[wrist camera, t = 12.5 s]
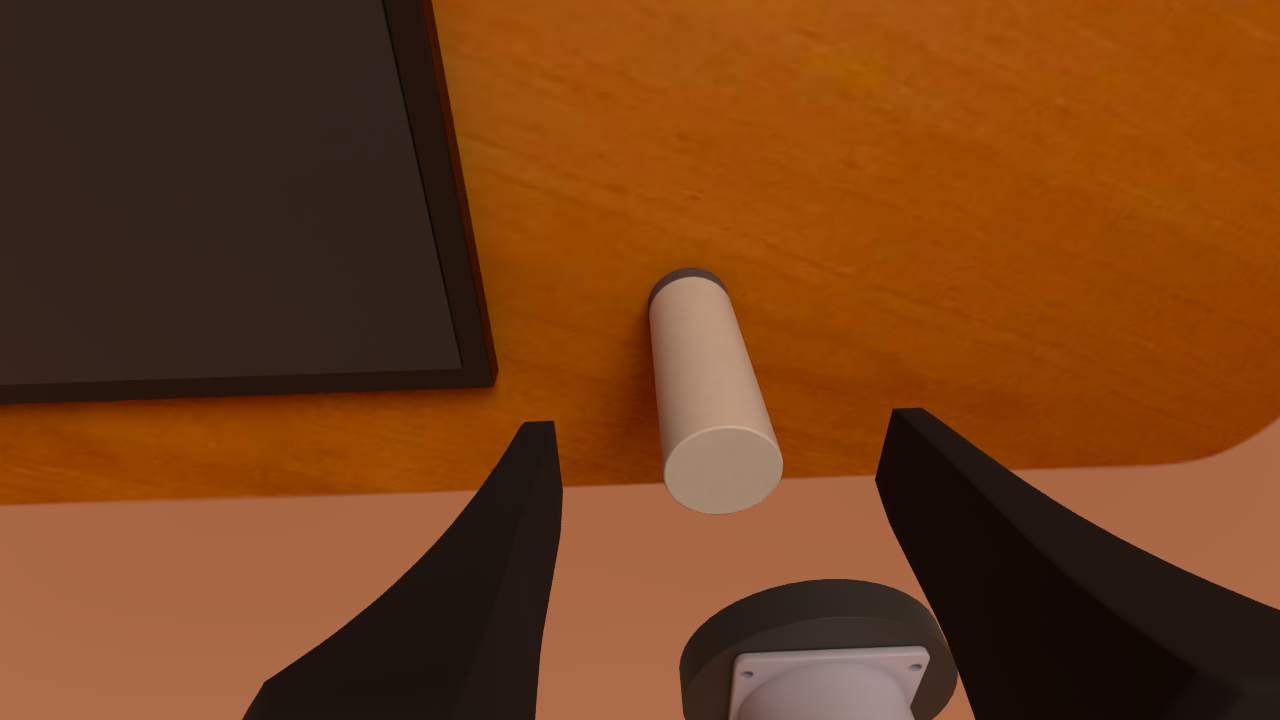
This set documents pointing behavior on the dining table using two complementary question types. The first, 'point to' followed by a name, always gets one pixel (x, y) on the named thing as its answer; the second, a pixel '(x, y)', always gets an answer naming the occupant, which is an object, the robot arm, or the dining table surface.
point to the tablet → (231, 202)
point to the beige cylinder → (708, 399)
